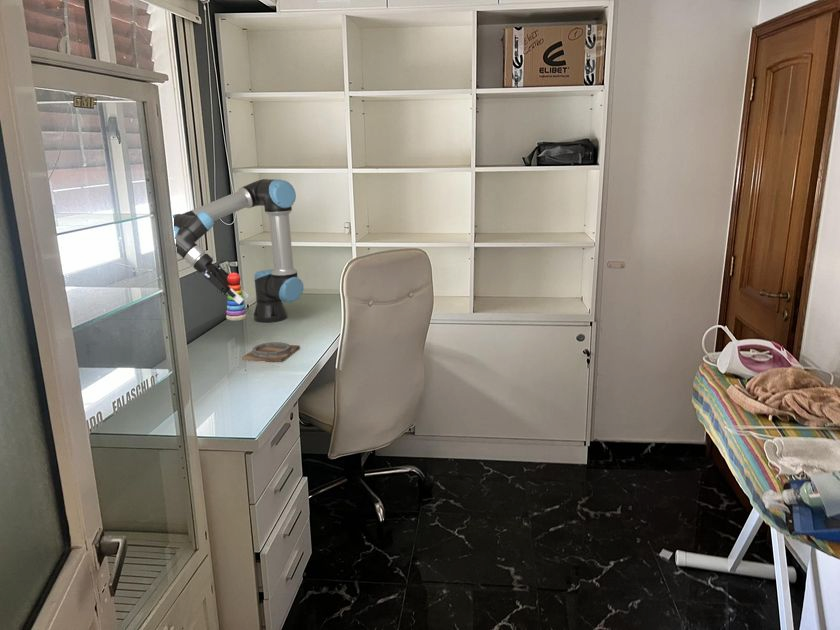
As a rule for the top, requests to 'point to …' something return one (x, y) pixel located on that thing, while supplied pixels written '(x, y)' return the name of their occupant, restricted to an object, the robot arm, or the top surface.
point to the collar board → (271, 359)
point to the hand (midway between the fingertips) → (244, 299)
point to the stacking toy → (233, 308)
